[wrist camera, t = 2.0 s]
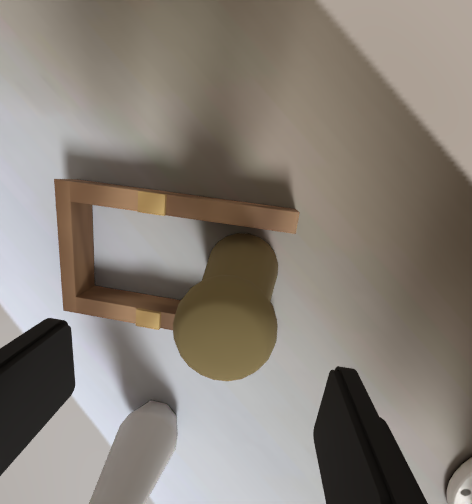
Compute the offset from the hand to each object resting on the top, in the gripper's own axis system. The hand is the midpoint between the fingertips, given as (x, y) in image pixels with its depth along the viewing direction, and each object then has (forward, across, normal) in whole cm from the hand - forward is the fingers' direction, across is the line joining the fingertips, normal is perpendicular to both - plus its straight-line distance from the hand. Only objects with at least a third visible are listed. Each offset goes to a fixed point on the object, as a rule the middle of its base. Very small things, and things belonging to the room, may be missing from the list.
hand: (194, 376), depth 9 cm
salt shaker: (+13, +6, +18) cm, 24 cm away
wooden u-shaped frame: (+13, +4, 0) cm, 14 cm away
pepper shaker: (+13, -1, 0) cm, 13 cm away
